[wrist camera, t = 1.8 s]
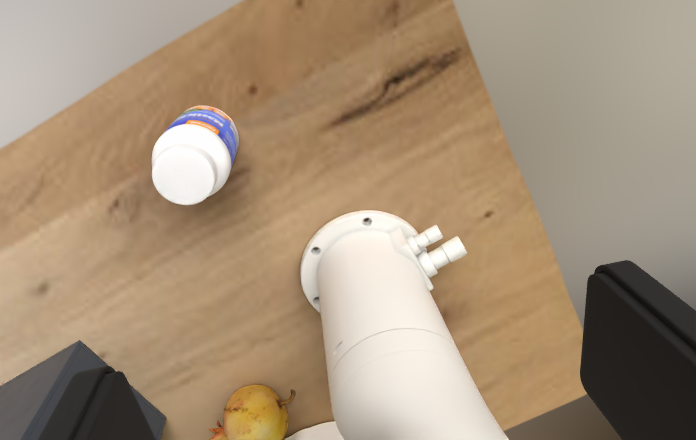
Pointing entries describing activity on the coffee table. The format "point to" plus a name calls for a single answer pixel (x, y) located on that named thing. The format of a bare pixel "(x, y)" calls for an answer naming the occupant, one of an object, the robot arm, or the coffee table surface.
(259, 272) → the coffee table surface
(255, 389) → the fruit
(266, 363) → the coffee table surface
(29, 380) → the carton
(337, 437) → the torso sculpture
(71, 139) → the coffee table surface
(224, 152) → the pill bottle
